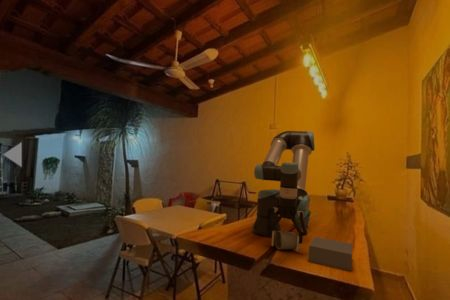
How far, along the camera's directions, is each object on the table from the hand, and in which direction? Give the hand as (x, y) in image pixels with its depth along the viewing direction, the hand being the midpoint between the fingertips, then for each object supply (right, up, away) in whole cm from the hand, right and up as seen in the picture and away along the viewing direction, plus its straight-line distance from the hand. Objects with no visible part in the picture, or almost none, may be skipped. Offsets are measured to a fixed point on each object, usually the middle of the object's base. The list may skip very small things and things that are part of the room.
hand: (285, 247), depth 111 cm
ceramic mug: (0, -1, +1) cm, 1 cm away
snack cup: (+20, -4, +43) cm, 48 cm away
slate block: (+16, -1, -9) cm, 19 cm away
